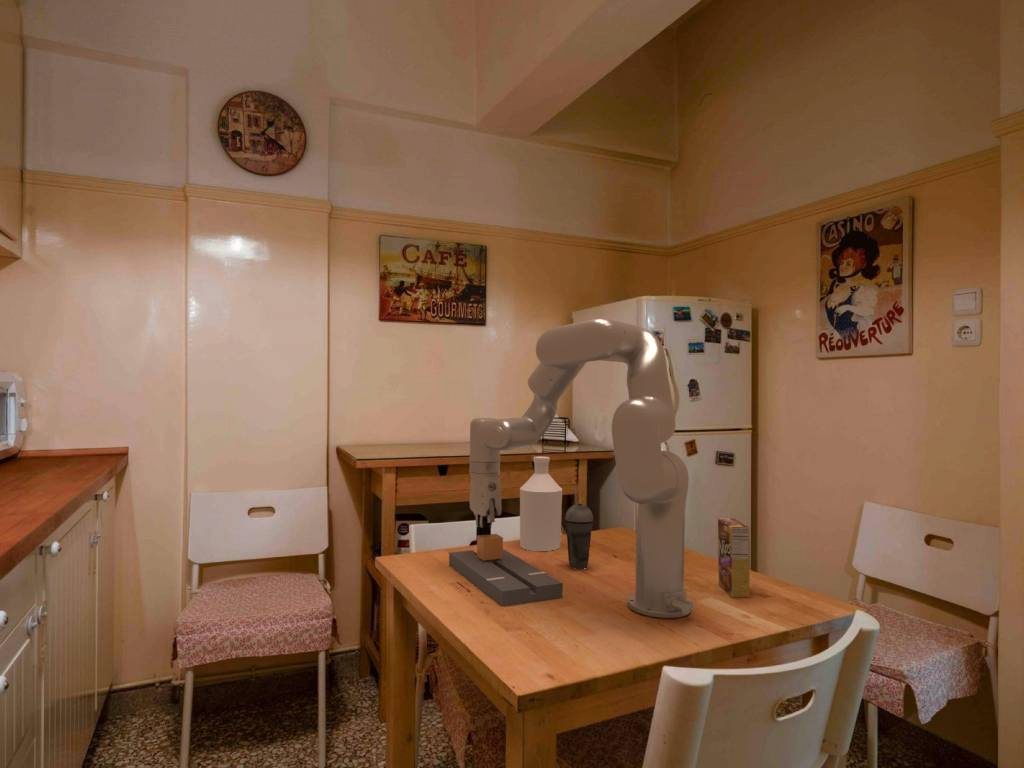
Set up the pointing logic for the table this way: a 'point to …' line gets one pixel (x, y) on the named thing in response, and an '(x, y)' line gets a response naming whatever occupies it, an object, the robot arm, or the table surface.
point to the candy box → (733, 557)
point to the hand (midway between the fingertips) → (483, 542)
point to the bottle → (540, 510)
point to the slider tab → (490, 547)
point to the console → (506, 578)
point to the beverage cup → (578, 534)
